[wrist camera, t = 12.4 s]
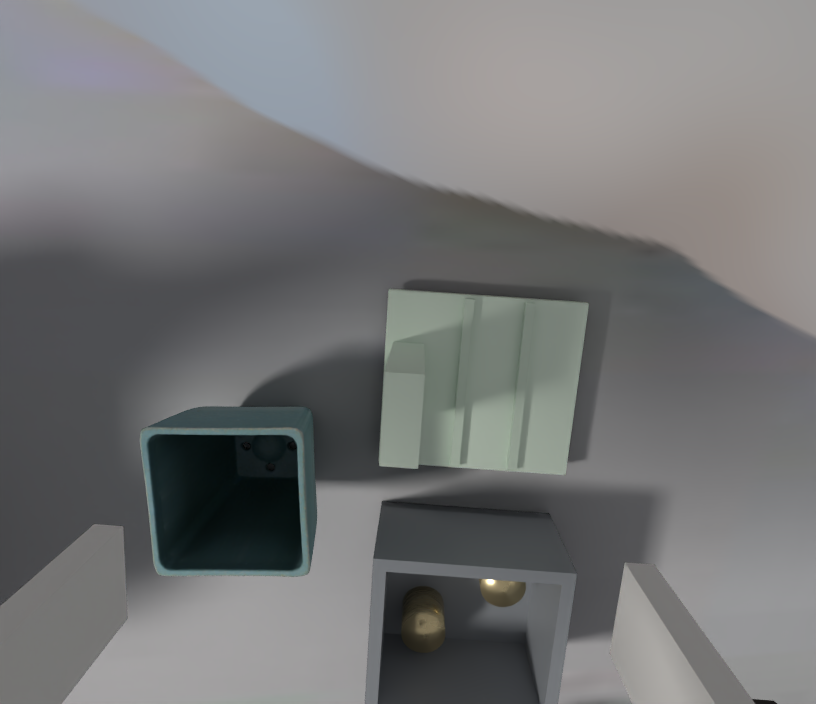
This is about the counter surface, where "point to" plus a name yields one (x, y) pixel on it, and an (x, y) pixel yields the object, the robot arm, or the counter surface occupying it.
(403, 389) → the lid
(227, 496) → the flower pot
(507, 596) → the part
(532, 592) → the tub
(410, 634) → the part
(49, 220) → the counter surface
